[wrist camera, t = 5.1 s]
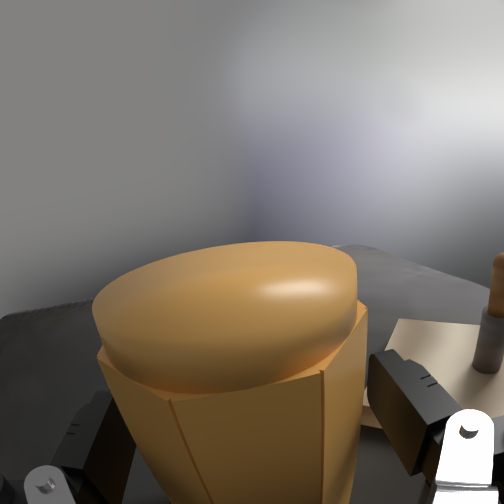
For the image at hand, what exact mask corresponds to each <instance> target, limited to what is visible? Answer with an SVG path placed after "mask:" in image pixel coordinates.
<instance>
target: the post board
mask: <svg viewBox="0 0 504 504" xmlns="http://www.w3.org/2000/svg"><path fill="white" fill-rule="evenodd" d="M389 349H394V350H395V351H396V352H397V353H398V354H399V355H400V356H401V357H402V359H403V360H404V361H405V360H408V359H411V360H413V361H415V362H417V363H419V364H421V365H423V366H424V368H425V369H426V370H427V371H428V372H429V373H430V374H431V377H432V376H433V377H434V378H435V379H436V380H437V381H438V384H440V385H441V386H442V387H443V388H444V389H445V390H446V391H447V392H448V393H449V394H450V396H451V397H452V398H453V399H454V400H455V401H456V402H457V403H458V404H459V405H460V407H461V408H462V409H463V410H476V411H480V412H482V413H484V414H486V415H487V416H488V417H489V418H495V417H499V416H503V415H504V252H503V253H500V254H499V255H497V256H496V258H495V260H494V262H493V271H492V281H491V289H490V297H489V304H488V306H486V307H485V308H484V309H483V312H482V318H481V324H480V325H469V324H455V323H442V322H431V321H420V320H409V319H399V320H398V322H397V324H396V327H395V329H394V331H393V334H392V336H391V338H390V340H389V342H388V345H387V347H386V349H385V351H386V350H389ZM361 425H366V426H371V427H376V428H381V429H382V427H381V425H380V423H379V422H378V420H377V418H376V417H375V415H374V413H373V411H372V410H371V408H370V406H369V403H368V399H367V387H366V389H365V391H364V397H363V408H362V418H361Z"/></svg>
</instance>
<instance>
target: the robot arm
mask: <svg viewBox="0 0 504 504" xmlns="http://www.w3.org/2000/svg"><path fill="white" fill-rule="evenodd" d="M367 399H368V403H369V406H370V408H371V410H372V411H373V413H374V415H375V417H376V418H377V420H378V422H379V423H380V425H381V427H382V429H383V430H384V432H385V434H386V435H387V437H388V439H389V441H390V442H391V444H392V446H393V448H394V449H395V451H396V453H397V455H398V456H399V458H400V460H401V462H402V463H403V465H404V467H405V469H406V470H407V472H408V474H409V476H410V477H411V476H413V475H415V474H418V473H420V472H423V474H424V476H425V477H426V478H425V480H424V483H423V487H422V490H421V493H420V497H419V500H418V503H417V504H497V501H498V499H499V500H500V502H501V503H502V504H504V415H503V416H499V417H495V418H489V417H488V416H487V415H486V414H484V413H482V412H480V411H476V410H463V409H462V408H461V407H460V405H459V404H458V403H457V402H456V401H455V400H454V399H453V398H452V397H451V396H450V394H449V393H448V392H447V391H446V390H445V389H444V388H443V387H442V386H441V385H440V384H438V381H437V380H436V379H435V378H434V377H433V376H432V377H431V374H430V373H429V372H428V371H427V370H426V369H425V368H424V366H423V365H421V364H419V363H417V362H415V361H413V360H411V359H408V360H405V361H404V360H403V359H402V357H401V356H400V355H399V354H398V353H397V352H396V351H395V350H394V349H389V350H386V351H382V352H378V353H374V354H371V355H370V357H369V368H368V382H367ZM66 433H67V434H65V436H64V438H63V440H62V441H61V443H60V445H59V447H58V449H57V451H56V453H55V455H54V457H53V459H52V462H51V464H50V465H49V466H41V467H38V468H36V469H34V470H32V471H31V472H30V473H29V474H28V475H27V477H26V479H25V480H8V481H7V480H6V479H5V477H4V476H3V475H2V474H1V473H0V504H122V500H123V495H124V491H125V487H126V483H127V479H128V476H129V472H130V468H131V464H132V460H133V457H134V453H135V449H136V443H135V441H134V439H133V437H132V435H131V433H130V431H129V429H128V427H127V425H126V423H125V421H124V419H123V417H122V415H121V413H120V411H119V409H118V407H117V404H116V402H115V400H114V398H113V396H112V393H111V391H110V389H99V390H97V392H96V393H95V395H94V397H93V399H92V401H91V403H90V404H86V405H85V406H84V407H82V408H81V409H80V410H79V411H78V412H77V413H76V415H75V417H74V418H73V420H72V422H71V426H69V428H68V430H67V432H66Z"/></svg>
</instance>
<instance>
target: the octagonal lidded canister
mask: <svg viewBox="0 0 504 504" xmlns="http://www.w3.org/2000/svg"><path fill="white" fill-rule="evenodd" d="M92 313H93V316H94V319H95V322H96V325H97V329H98V332H99V335H100V337H101V340H102V343H103V345H102V347H101V349H100V351H99V353H98V355H97V359H98V362H99V364H100V367H101V369H102V372H103V374H104V377H105V379H106V382H107V384H108V386H109V389H110V391H111V393H112V396H113V398H114V400H115V402H116V404H117V407H118V409H119V411H120V413H121V415H122V417H123V419H124V421H125V423H126V425H127V427H128V429H129V431H130V433H131V435H132V437H133V439H134V441H135V443H136V445H137V447H138V449H139V450H140V452H141V454H142V456H143V458H144V460H145V461H146V463H147V465H148V467H149V468H150V470H151V472H152V473H153V475H154V477H155V478H156V480H157V482H158V483H159V485H160V487H161V488H162V490H163V491H164V493H165V495H166V496H167V498H168V499H169V501H170V502H171V504H349V501H350V495H351V490H352V484H353V478H354V472H355V465H356V459H357V452H358V444H359V436H360V428H361V418H362V408H363V397H364V384H365V369H366V349H367V307H366V306H365V305H364V304H362V303H361V302H360V301H358V300H357V270H356V264H355V262H354V260H353V259H352V258H351V257H350V256H348V255H347V254H345V253H344V252H342V251H339V250H337V249H334V248H331V247H328V246H323V245H319V244H312V243H304V242H288V241H270V242H251V243H240V244H232V245H224V246H218V247H212V248H206V249H201V250H197V251H192V252H187V253H183V254H179V255H176V256H172V257H168V258H165V259H162V260H159V261H155V262H153V263H150V264H147V265H144V266H142V267H140V268H137V269H135V270H133V271H131V272H128V273H126V274H124V275H123V276H121V277H119V278H117V279H116V280H114V281H113V282H111V283H110V284H108V285H107V286H106V287H105V288H103V289H102V290H101V291H100V292H99V294H98V295H97V296H96V298H95V299H94V302H93V305H92Z"/></svg>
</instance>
